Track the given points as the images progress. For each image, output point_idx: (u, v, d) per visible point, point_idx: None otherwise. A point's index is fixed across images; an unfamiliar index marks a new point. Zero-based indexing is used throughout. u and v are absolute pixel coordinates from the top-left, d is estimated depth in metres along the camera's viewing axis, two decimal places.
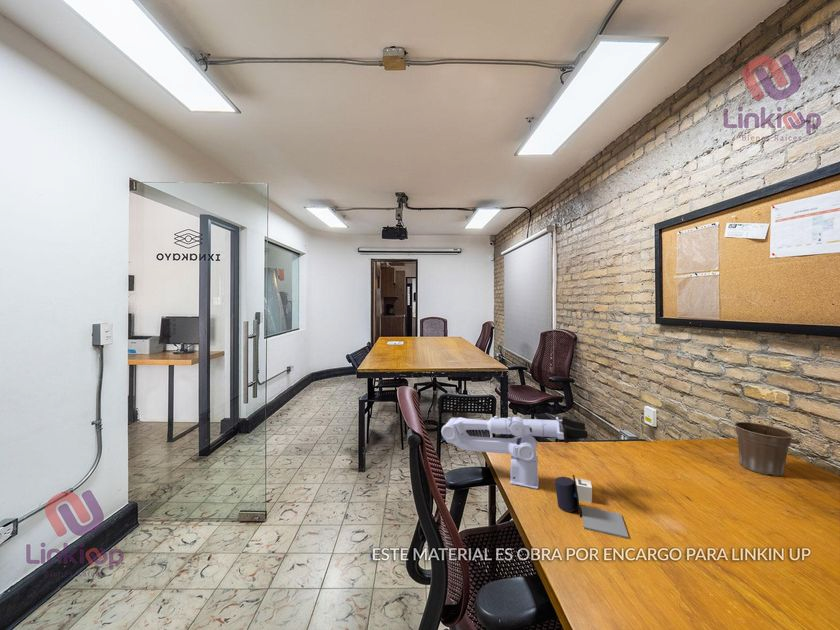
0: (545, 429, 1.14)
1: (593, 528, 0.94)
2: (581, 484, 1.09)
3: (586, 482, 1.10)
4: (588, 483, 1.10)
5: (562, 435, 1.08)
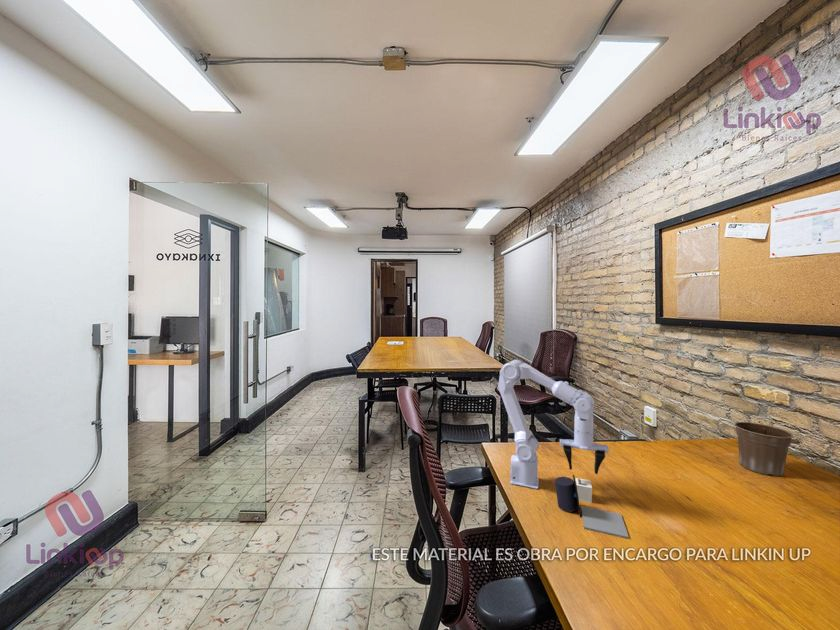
0: (574, 431, 1.10)
1: (593, 528, 0.94)
2: (581, 484, 1.09)
3: (586, 482, 1.10)
4: (588, 483, 1.10)
5: (560, 444, 1.12)
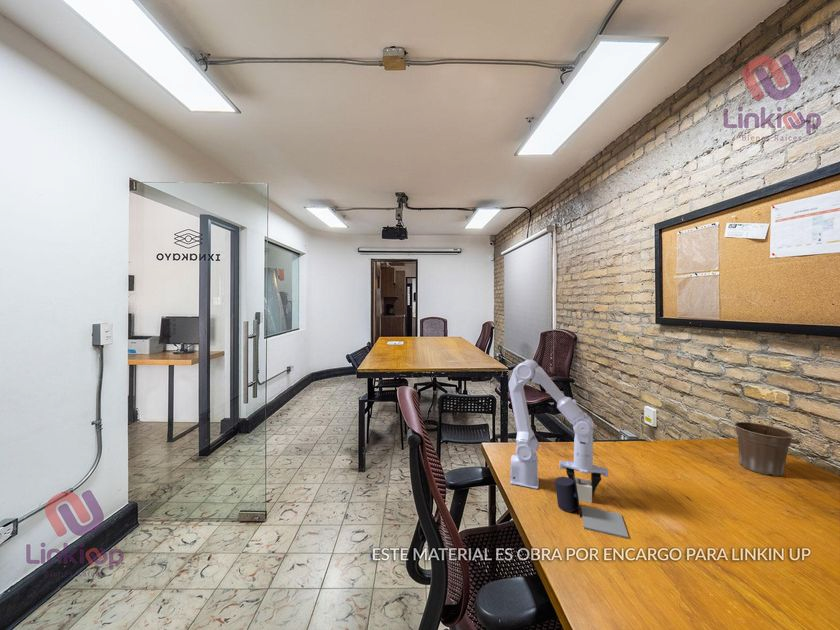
0: (574, 453, 1.10)
1: (593, 528, 0.94)
2: (581, 484, 1.09)
3: (586, 482, 1.10)
4: (588, 482, 1.10)
5: (560, 466, 1.12)
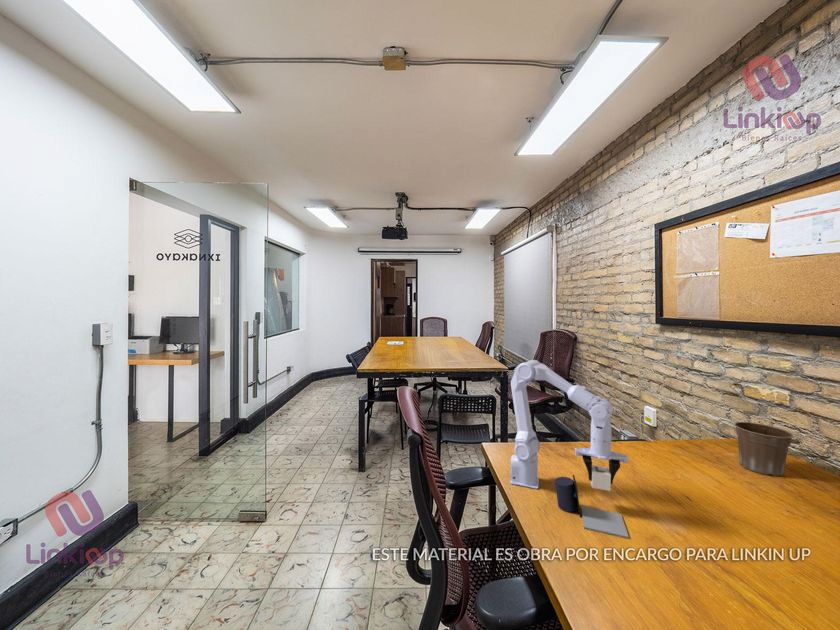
0: (591, 439, 1.05)
1: (593, 528, 0.94)
2: (599, 471, 1.03)
3: (604, 469, 1.05)
4: (605, 470, 1.04)
5: (576, 453, 1.06)
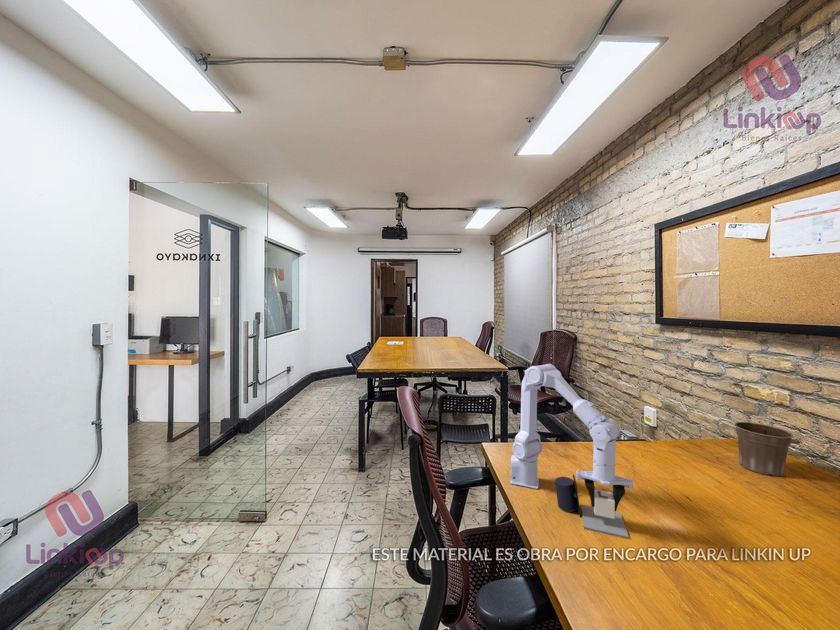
0: (593, 462, 0.98)
1: (593, 528, 0.94)
2: (602, 497, 0.96)
3: (607, 494, 0.97)
4: (609, 495, 0.97)
5: (577, 477, 0.99)
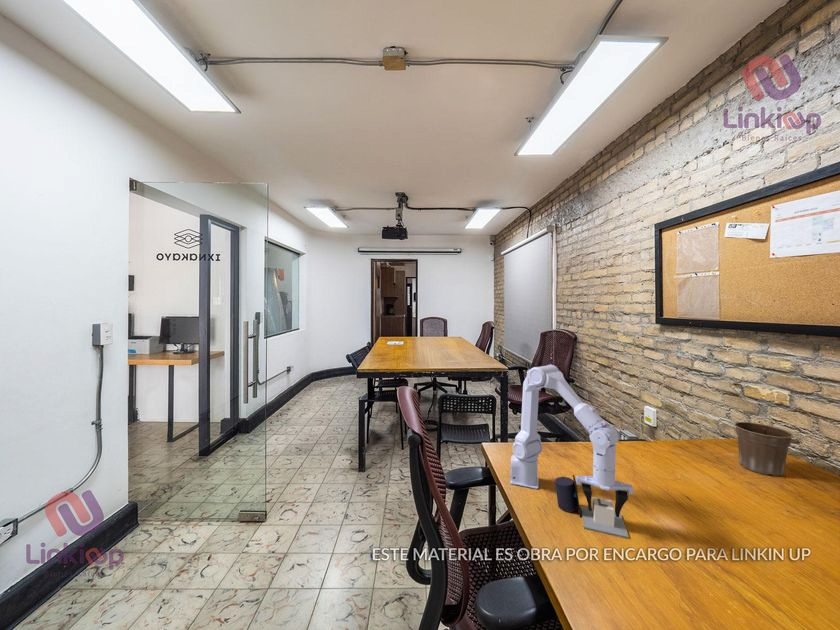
0: (593, 467, 0.98)
1: (593, 528, 0.94)
2: (602, 505, 0.96)
3: (607, 502, 0.98)
4: (609, 503, 0.97)
5: (577, 481, 0.99)
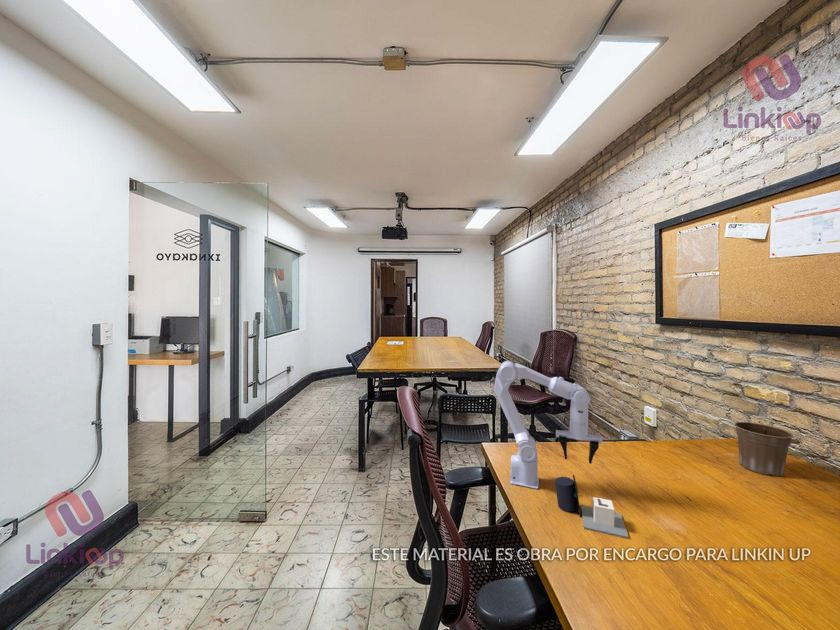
0: (570, 422, 1.15)
1: (593, 528, 0.94)
2: (602, 505, 0.96)
3: (607, 502, 0.98)
4: (609, 503, 0.97)
5: (556, 435, 1.17)
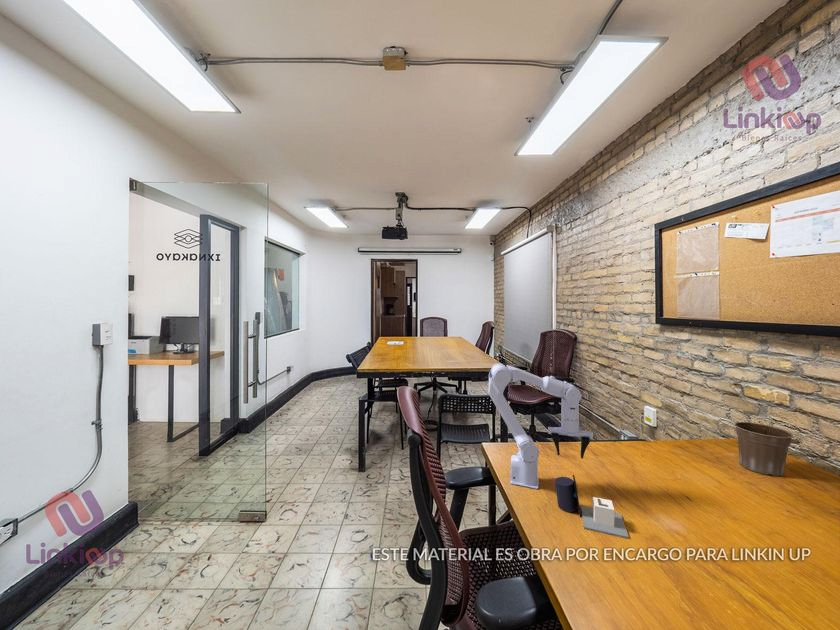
0: (561, 419, 1.18)
1: (593, 528, 0.94)
2: (602, 505, 0.96)
3: (607, 502, 0.98)
4: (609, 503, 0.97)
5: None
